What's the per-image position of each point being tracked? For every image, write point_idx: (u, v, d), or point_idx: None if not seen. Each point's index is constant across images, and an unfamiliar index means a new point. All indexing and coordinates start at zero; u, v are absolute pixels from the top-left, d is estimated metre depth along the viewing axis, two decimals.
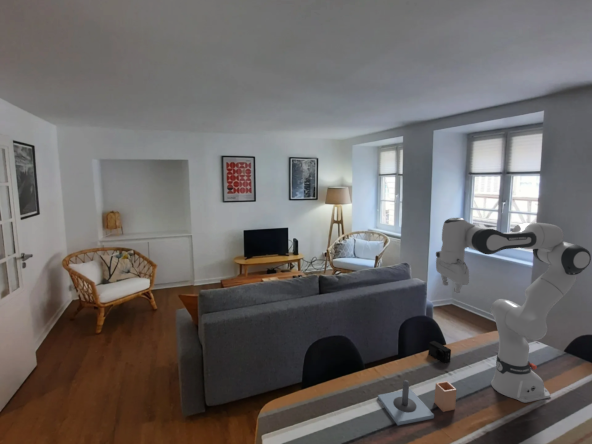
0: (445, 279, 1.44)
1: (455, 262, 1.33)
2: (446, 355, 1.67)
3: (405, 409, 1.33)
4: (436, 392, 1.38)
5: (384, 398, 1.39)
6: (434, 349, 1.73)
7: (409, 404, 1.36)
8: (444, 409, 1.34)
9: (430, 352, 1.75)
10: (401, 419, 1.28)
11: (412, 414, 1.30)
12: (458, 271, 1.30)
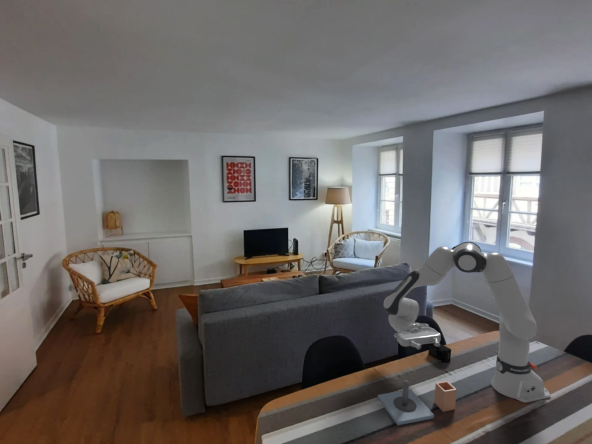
0: None
1: None
2: (446, 354, 1.68)
3: (405, 409, 1.33)
4: (436, 392, 1.38)
5: (384, 398, 1.39)
6: (434, 349, 1.73)
7: (409, 404, 1.36)
8: (444, 409, 1.34)
9: (430, 352, 1.75)
10: (401, 419, 1.28)
11: (412, 414, 1.30)
12: None
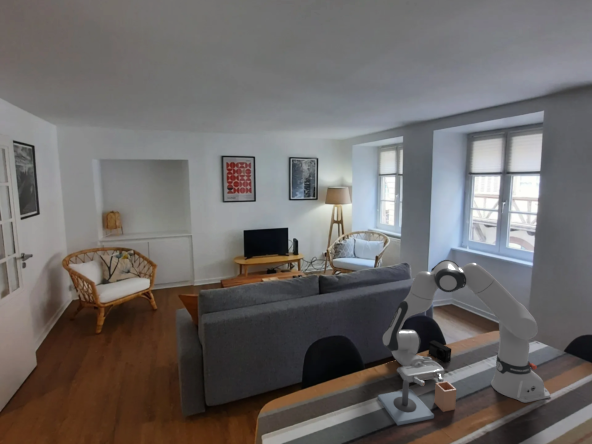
0: None
1: None
2: (446, 354, 1.68)
3: (405, 409, 1.33)
4: (436, 392, 1.38)
5: (384, 398, 1.39)
6: (434, 349, 1.73)
7: (409, 404, 1.36)
8: (444, 409, 1.34)
9: (430, 352, 1.75)
10: (401, 419, 1.28)
11: (412, 414, 1.30)
12: None
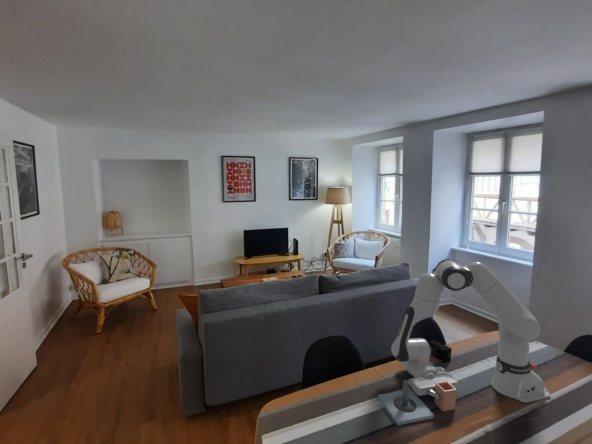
0: None
1: None
2: (447, 354, 1.68)
3: (405, 409, 1.33)
4: (436, 392, 1.38)
5: (384, 398, 1.39)
6: (434, 348, 1.73)
7: (409, 404, 1.36)
8: (444, 409, 1.34)
9: None
10: (401, 419, 1.28)
11: (412, 414, 1.30)
12: None
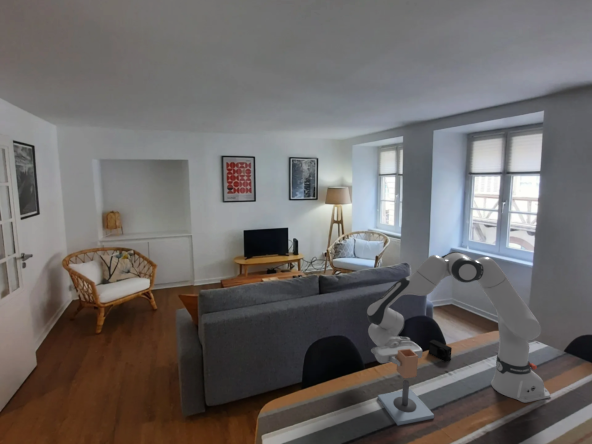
0: None
1: None
2: (447, 353, 1.69)
3: (405, 409, 1.33)
4: (398, 359, 1.34)
5: (384, 398, 1.39)
6: (435, 348, 1.74)
7: (409, 404, 1.36)
8: (405, 376, 1.31)
9: (430, 351, 1.76)
10: (401, 419, 1.28)
11: (412, 414, 1.30)
12: None
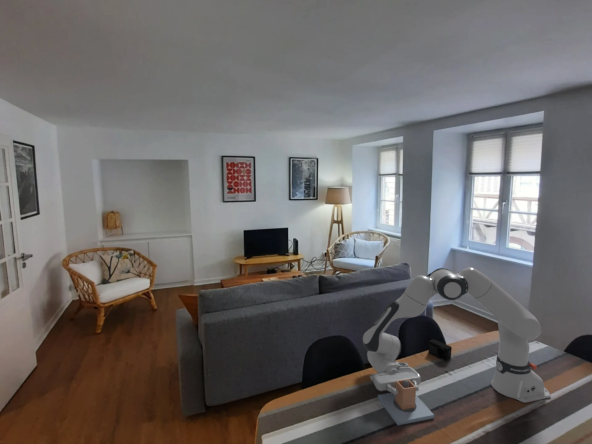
0: None
1: None
2: (447, 352, 1.70)
3: (405, 409, 1.33)
4: None
5: (384, 398, 1.39)
6: (435, 347, 1.74)
7: None
8: (403, 407, 1.33)
9: (430, 351, 1.76)
10: (401, 419, 1.28)
11: (412, 414, 1.30)
12: None
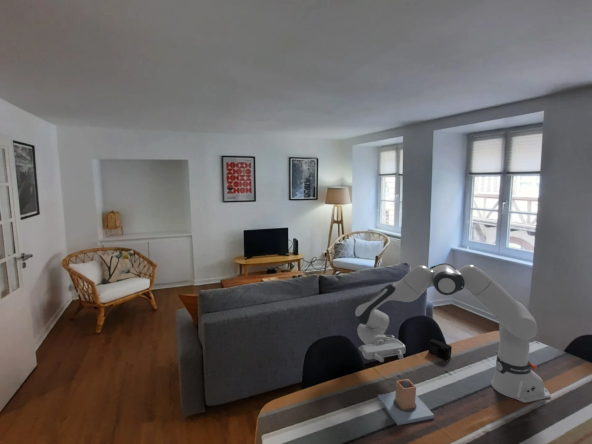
0: None
1: None
2: (448, 352, 1.70)
3: (405, 409, 1.33)
4: (396, 390, 1.36)
5: (384, 398, 1.39)
6: (435, 347, 1.75)
7: None
8: (403, 407, 1.33)
9: (430, 350, 1.77)
10: (401, 419, 1.28)
11: (412, 414, 1.30)
12: None
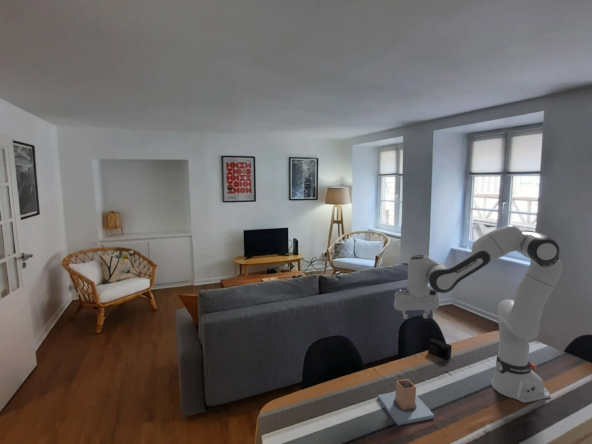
0: (426, 313, 1.53)
1: None
2: (448, 351, 1.71)
3: (405, 409, 1.33)
4: (396, 390, 1.36)
5: (384, 398, 1.39)
6: (435, 347, 1.75)
7: None
8: (403, 407, 1.33)
9: (430, 350, 1.77)
10: (401, 419, 1.28)
11: (412, 414, 1.30)
12: None
